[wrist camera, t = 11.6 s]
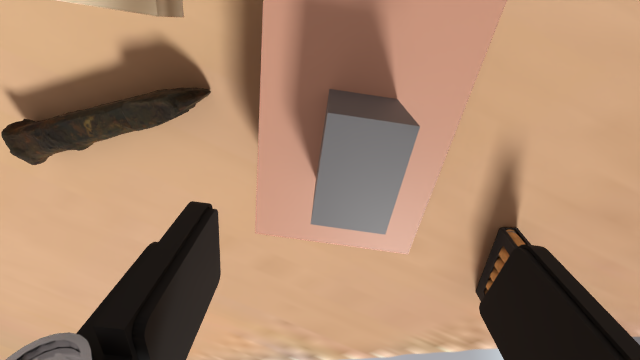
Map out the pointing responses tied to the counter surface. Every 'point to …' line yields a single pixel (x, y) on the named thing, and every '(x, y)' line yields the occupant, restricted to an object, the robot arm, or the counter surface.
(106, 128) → the black rough elongated piece
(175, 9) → the rectangular bar
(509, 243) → the ammunition clip
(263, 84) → the lid
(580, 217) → the counter surface
